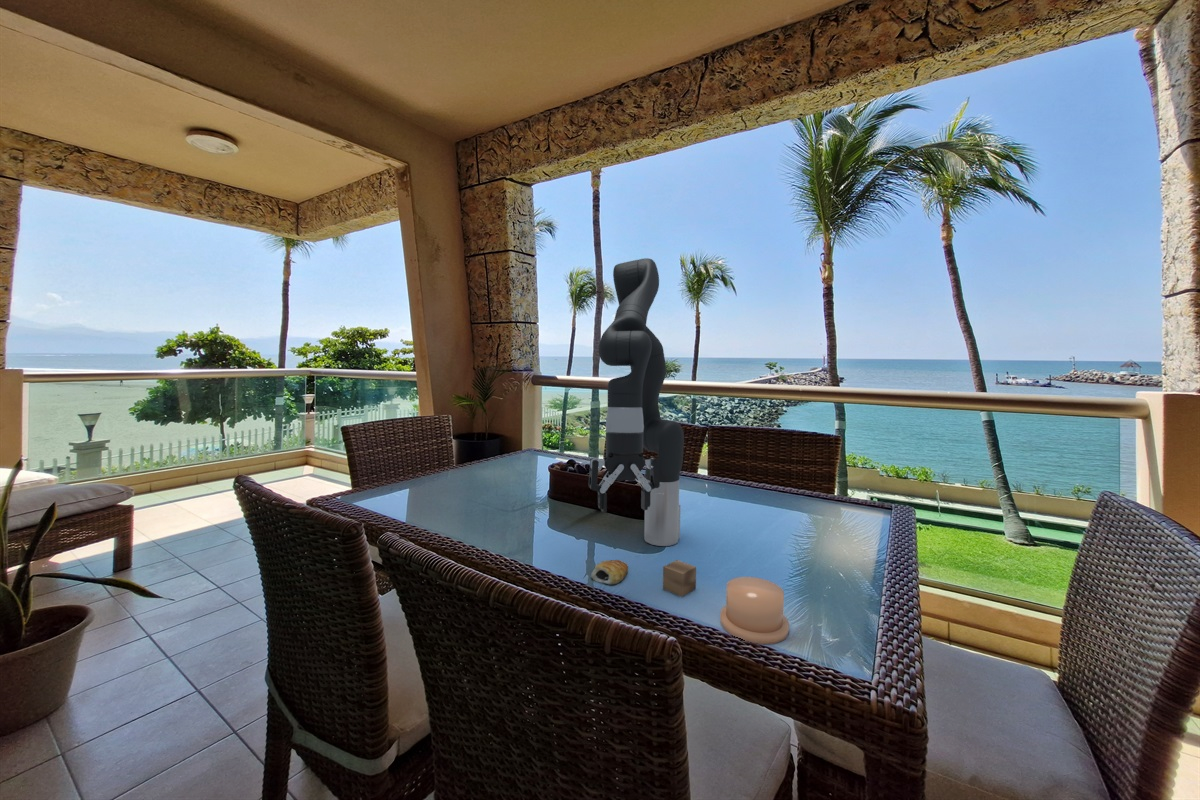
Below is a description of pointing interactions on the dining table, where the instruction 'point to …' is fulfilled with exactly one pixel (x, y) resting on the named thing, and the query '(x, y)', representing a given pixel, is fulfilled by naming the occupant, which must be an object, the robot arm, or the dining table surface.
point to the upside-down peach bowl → (755, 611)
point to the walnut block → (679, 578)
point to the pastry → (610, 572)
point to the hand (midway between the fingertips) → (624, 510)
